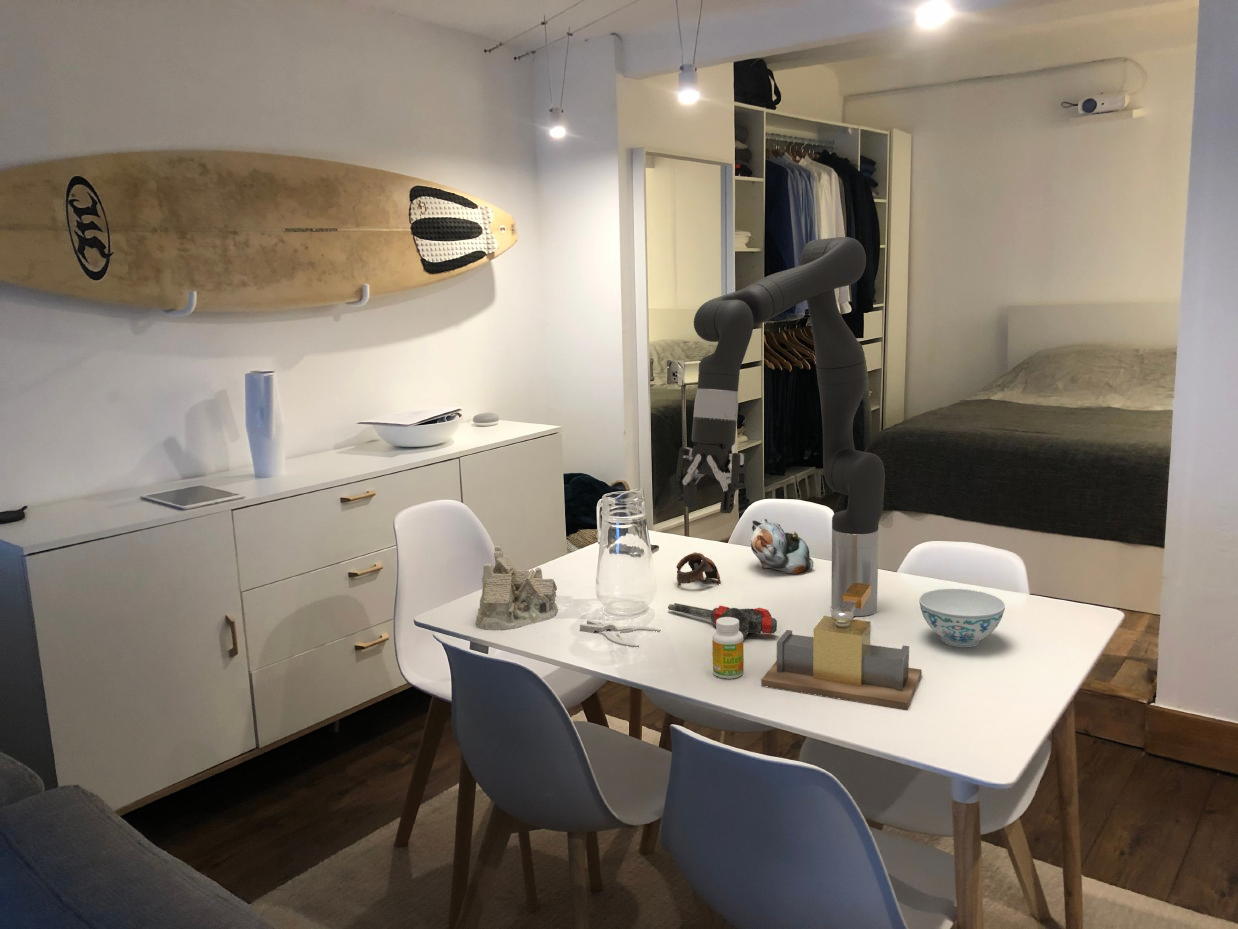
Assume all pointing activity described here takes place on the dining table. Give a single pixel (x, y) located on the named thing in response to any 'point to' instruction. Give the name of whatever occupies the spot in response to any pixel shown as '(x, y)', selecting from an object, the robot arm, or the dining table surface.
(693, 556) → the brown openwork dome
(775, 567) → the lucky cat figurine
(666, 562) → the dining table surface
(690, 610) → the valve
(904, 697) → the walnut board
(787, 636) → the valve and pipe
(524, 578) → the ceramic cottage
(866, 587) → the valve lever
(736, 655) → the supplement bottle
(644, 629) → the pliers
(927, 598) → the chinaware
